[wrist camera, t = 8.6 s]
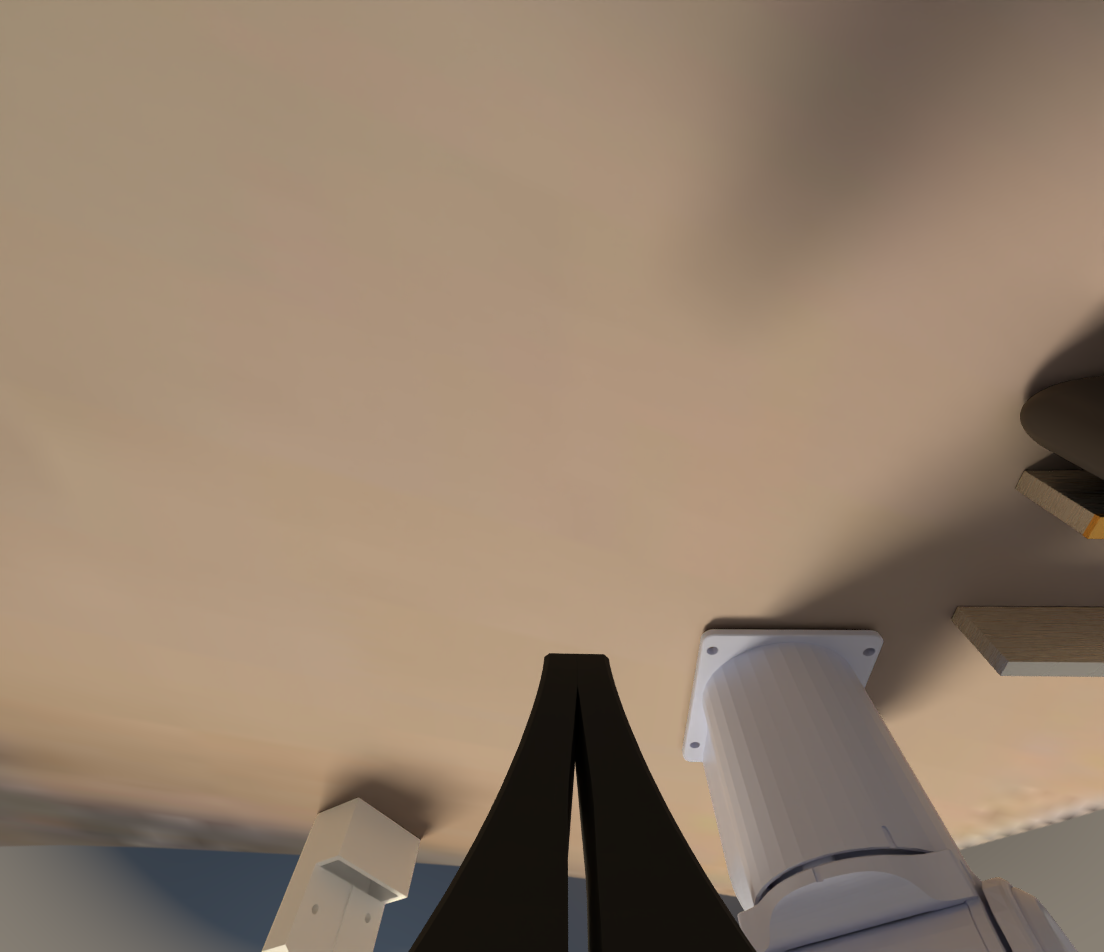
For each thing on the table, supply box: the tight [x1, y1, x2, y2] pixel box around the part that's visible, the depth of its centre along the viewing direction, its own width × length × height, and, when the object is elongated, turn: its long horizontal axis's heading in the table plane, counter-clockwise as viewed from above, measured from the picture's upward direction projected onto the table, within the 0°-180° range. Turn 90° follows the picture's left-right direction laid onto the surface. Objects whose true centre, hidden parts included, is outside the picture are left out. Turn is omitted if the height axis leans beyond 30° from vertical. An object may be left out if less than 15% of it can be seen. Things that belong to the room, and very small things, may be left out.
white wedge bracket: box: [262, 797, 420, 952], centre depth 30 cm, size 4×10×9 cm, turn 34°
